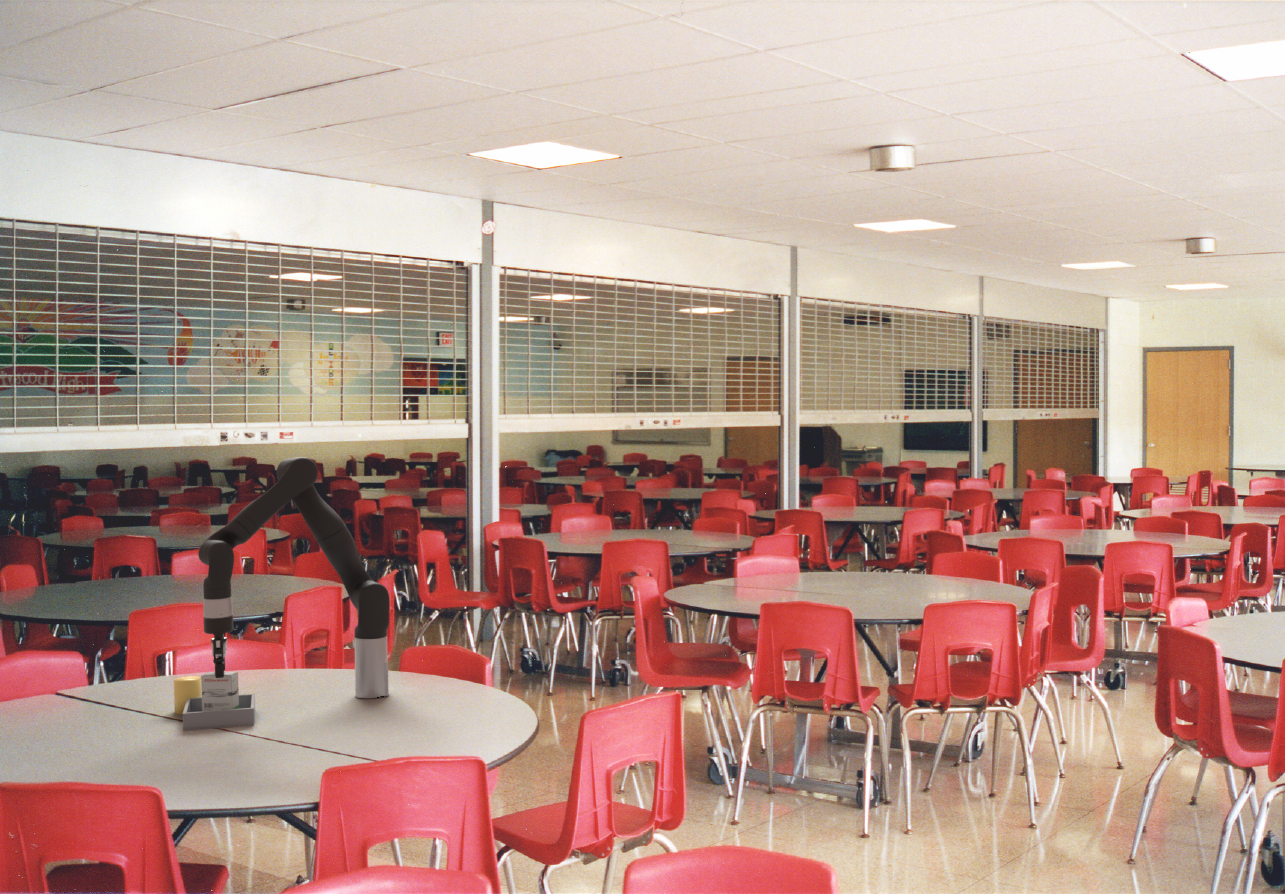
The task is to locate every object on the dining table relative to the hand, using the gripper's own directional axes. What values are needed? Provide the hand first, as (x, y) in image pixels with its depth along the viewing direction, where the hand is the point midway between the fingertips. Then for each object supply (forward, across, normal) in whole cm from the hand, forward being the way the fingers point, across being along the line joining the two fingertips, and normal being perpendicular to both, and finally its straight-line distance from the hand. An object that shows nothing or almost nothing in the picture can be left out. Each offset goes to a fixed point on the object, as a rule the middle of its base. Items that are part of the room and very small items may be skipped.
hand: (220, 674), depth 326 cm
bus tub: (+12, 0, 0) cm, 12 cm away
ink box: (+12, 0, 0) cm, 12 cm away
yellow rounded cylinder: (+12, +13, +9) cm, 20 cm away
